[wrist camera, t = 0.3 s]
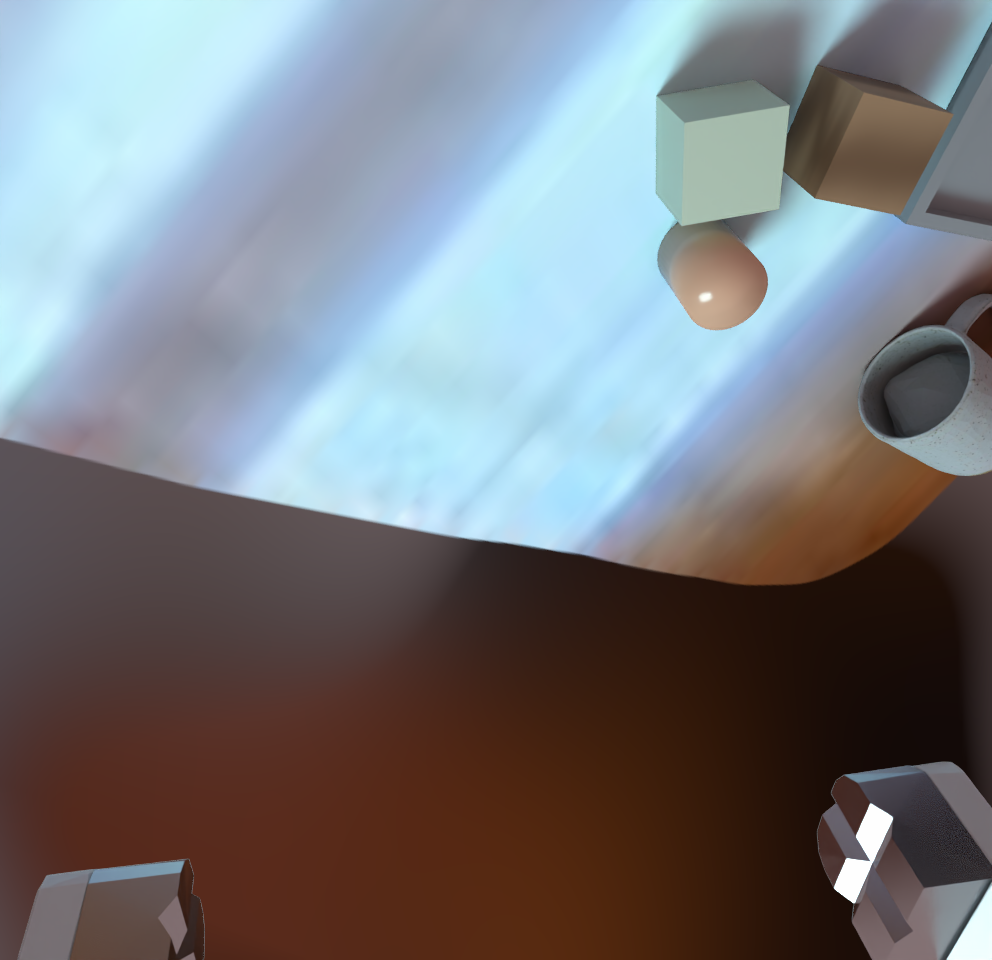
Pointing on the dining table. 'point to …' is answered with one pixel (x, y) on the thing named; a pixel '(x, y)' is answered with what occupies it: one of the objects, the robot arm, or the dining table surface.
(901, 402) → the ceramic mug
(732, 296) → the terracotta cylinder
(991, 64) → the tray
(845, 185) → the walnut block
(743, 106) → the green block
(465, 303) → the dining table surface
